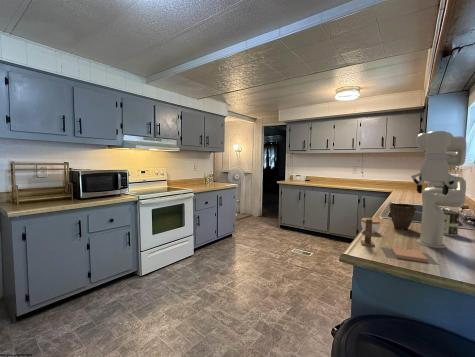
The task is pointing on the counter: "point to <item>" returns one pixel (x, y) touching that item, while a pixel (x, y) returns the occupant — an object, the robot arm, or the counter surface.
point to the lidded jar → (374, 224)
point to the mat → (389, 254)
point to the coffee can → (451, 223)
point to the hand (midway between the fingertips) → (431, 193)
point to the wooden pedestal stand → (368, 234)
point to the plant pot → (402, 215)
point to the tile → (408, 254)
